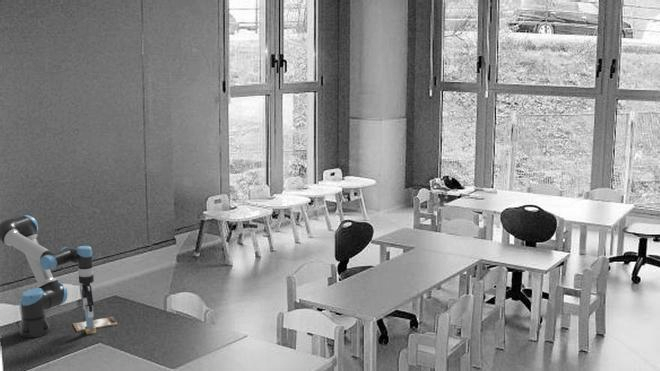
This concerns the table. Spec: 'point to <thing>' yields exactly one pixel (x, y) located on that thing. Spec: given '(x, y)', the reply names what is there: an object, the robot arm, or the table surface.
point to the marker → (88, 320)
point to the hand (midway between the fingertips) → (88, 313)
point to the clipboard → (96, 323)
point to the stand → (90, 330)
